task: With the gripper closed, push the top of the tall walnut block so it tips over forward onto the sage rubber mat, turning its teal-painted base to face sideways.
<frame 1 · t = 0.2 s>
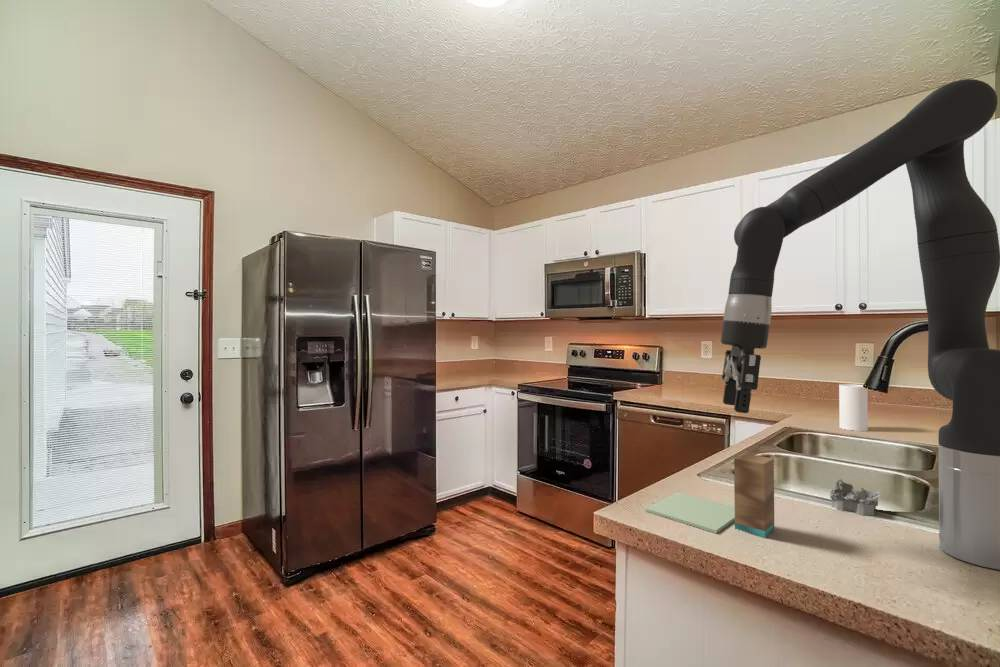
hand: (734, 408, 83), 22 cm above the worktop, tool pointing down, fingers open, 8 cm apart
cup: (853, 429, 166), on the worktop
grey miniature model: (855, 508, 93), on the worktop
sage mat: (695, 511, 91), on the worktop
walnut block: (754, 529, 83), on the worktop
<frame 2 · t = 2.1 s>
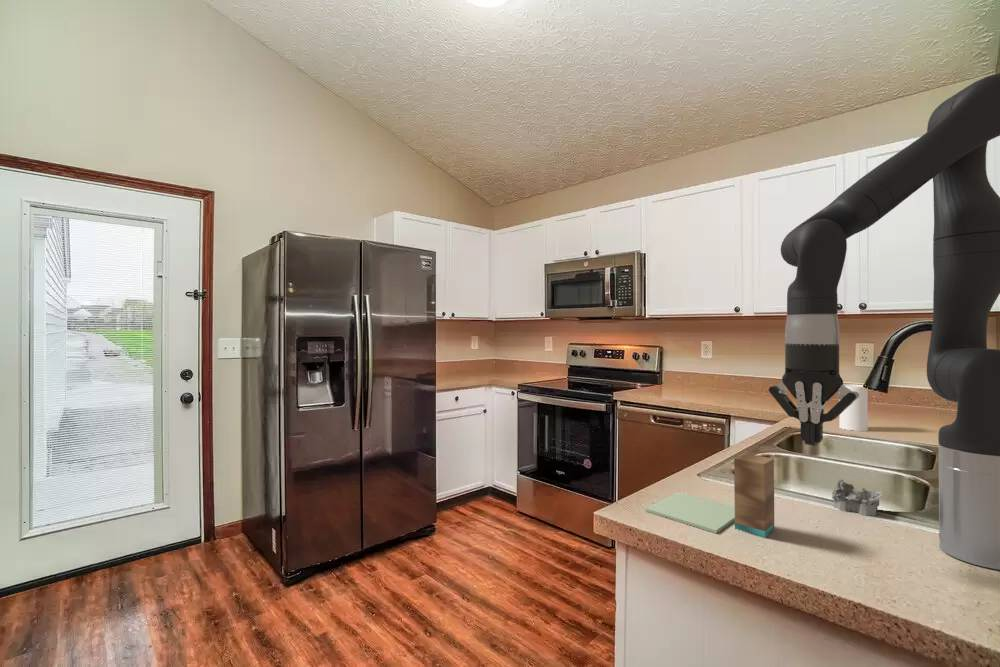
hand: (811, 444, 76), 17 cm above the worktop, tool pointing down, fingers closed
nothing on the worktop moved.
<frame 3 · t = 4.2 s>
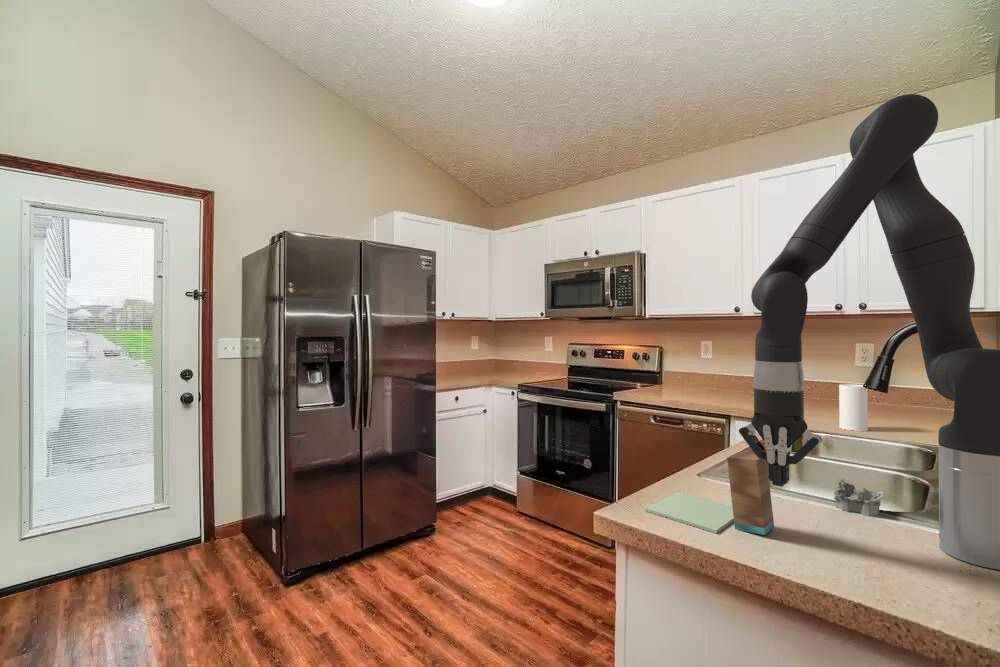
hand: (778, 484, 80), 9 cm above the worktop, tool pointing down, fingers closed
walnut block: (754, 527, 83), on the worktop, tilted 6°
everything else where it was.
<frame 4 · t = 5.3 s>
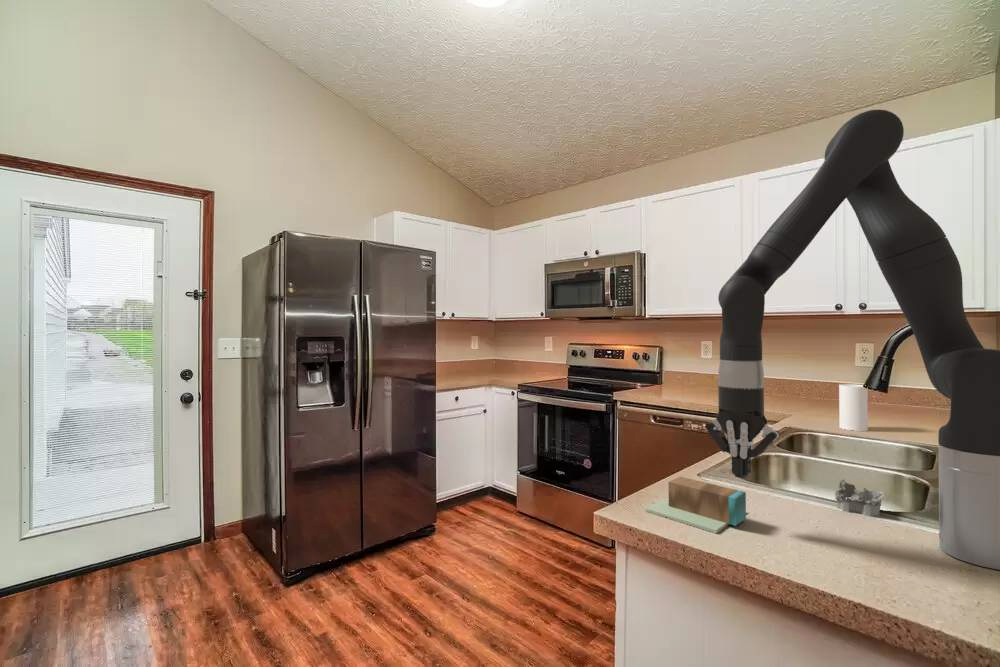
hand: (741, 476, 84), 9 cm above the worktop, tool pointing down, fingers closed
walnut block: (740, 508, 85), point 3 cm above the worktop, tilted 90°, touching sage mat
everything else where it was.
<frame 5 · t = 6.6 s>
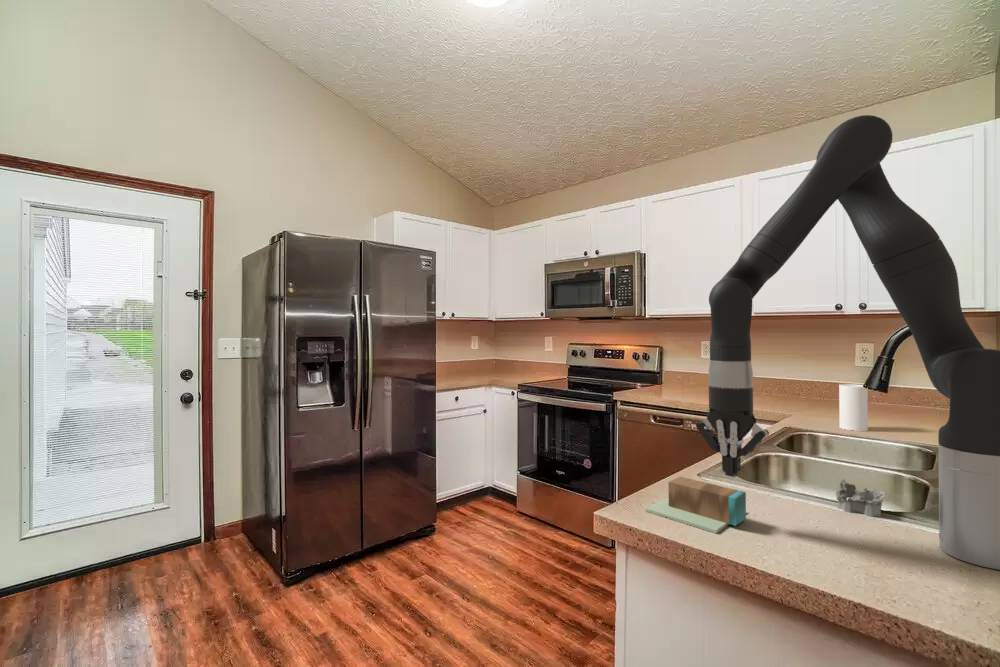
hand: (731, 475, 86), 9 cm above the worktop, tool pointing down, fingers closed
nothing on the worktop moved.
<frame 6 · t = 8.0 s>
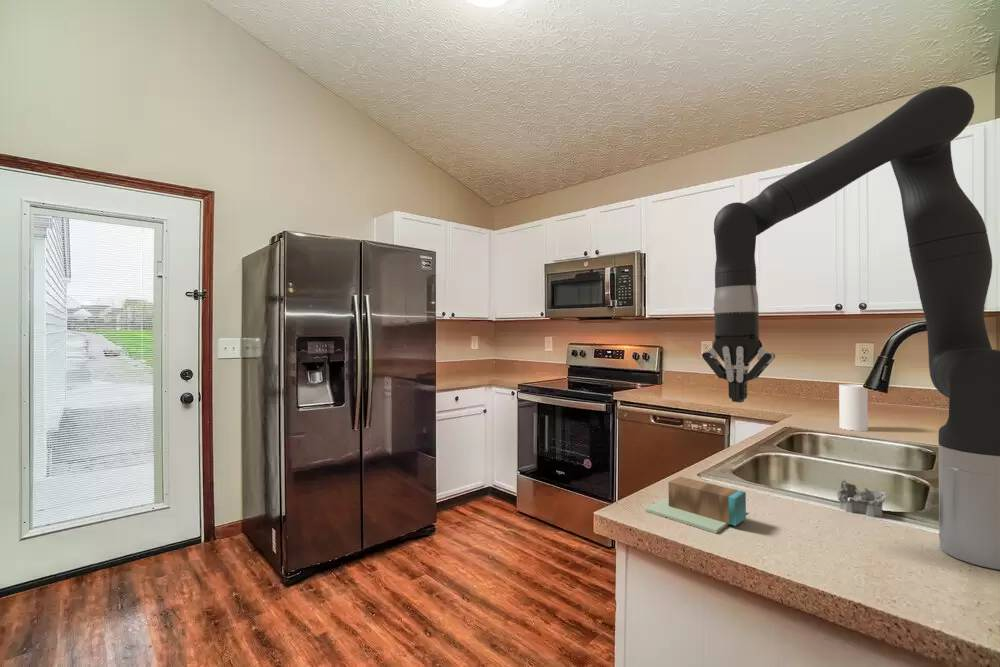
hand: (737, 401, 86), 23 cm above the worktop, tool pointing down, fingers closed
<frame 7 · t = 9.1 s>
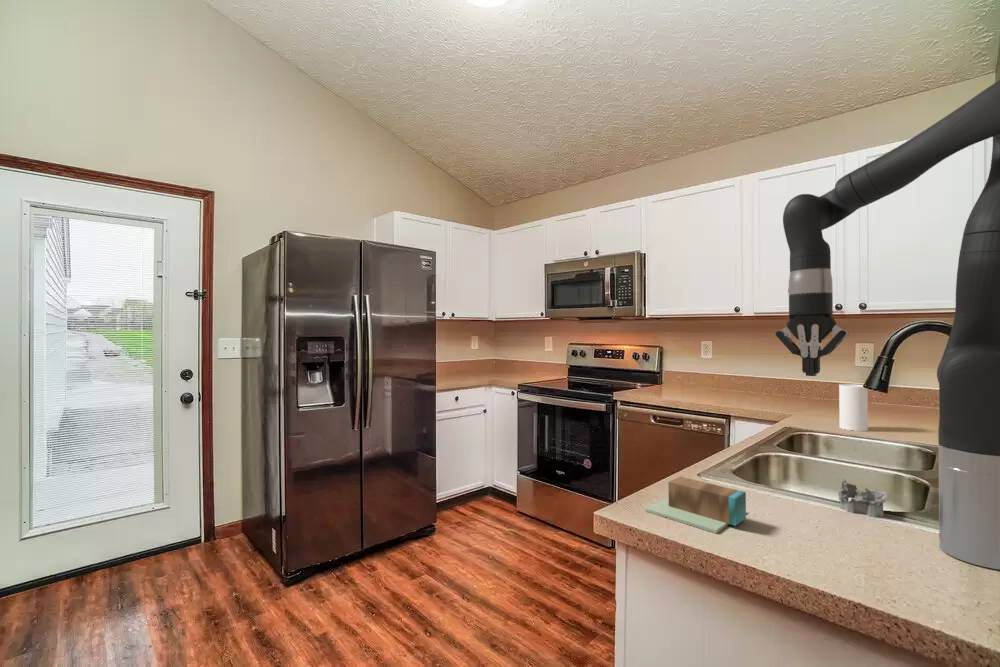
hand: (811, 375, 94), 27 cm above the worktop, tool pointing down, fingers closed
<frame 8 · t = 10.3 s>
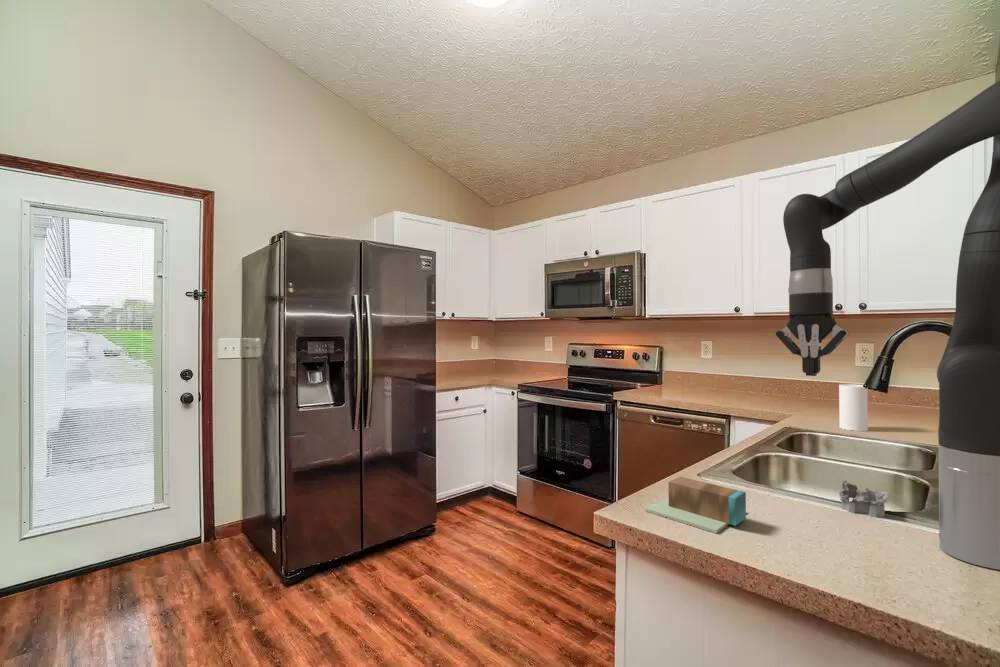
hand: (811, 375, 94), 27 cm above the worktop, tool pointing down, fingers closed
at the end: walnut block tilted 90°; walnut block touching sage mat; walnut block inside the target area (3.1 cm from its centre), point 3.1 cm above the worktop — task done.
